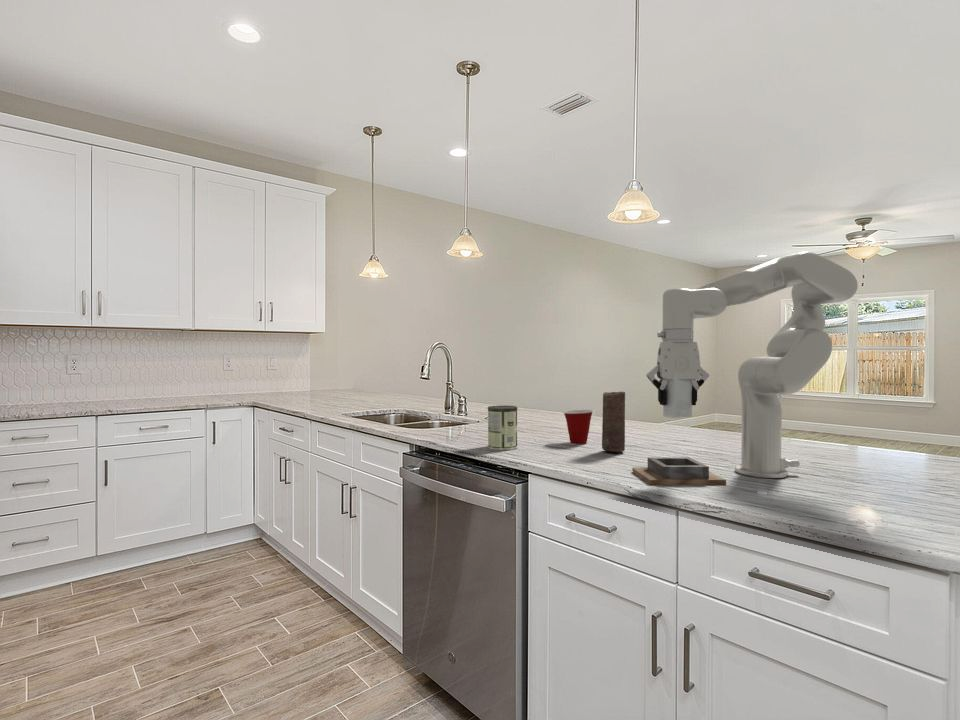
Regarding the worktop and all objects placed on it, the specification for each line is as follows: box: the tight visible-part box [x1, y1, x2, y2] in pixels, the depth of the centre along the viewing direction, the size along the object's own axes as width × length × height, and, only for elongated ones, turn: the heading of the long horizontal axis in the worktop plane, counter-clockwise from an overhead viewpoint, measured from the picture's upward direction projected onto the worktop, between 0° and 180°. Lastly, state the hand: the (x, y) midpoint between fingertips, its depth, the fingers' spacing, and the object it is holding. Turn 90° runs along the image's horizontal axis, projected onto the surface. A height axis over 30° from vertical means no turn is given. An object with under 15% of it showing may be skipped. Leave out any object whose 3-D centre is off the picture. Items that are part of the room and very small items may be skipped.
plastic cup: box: [562, 409, 594, 445], centre depth 187 cm, size 11×11×12 cm
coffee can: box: [487, 405, 519, 451], centre depth 178 cm, size 10×10×14 cm
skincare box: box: [662, 372, 693, 419], centre depth 134 cm, size 6×4×12 cm
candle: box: [601, 391, 626, 453], centre depth 169 cm, size 8×7×20 cm
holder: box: [632, 456, 727, 486], centre depth 135 cm, size 19×14×4 cm
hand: (677, 404), depth 134 cm, fingers closed on skincare box, 7 cm apart
